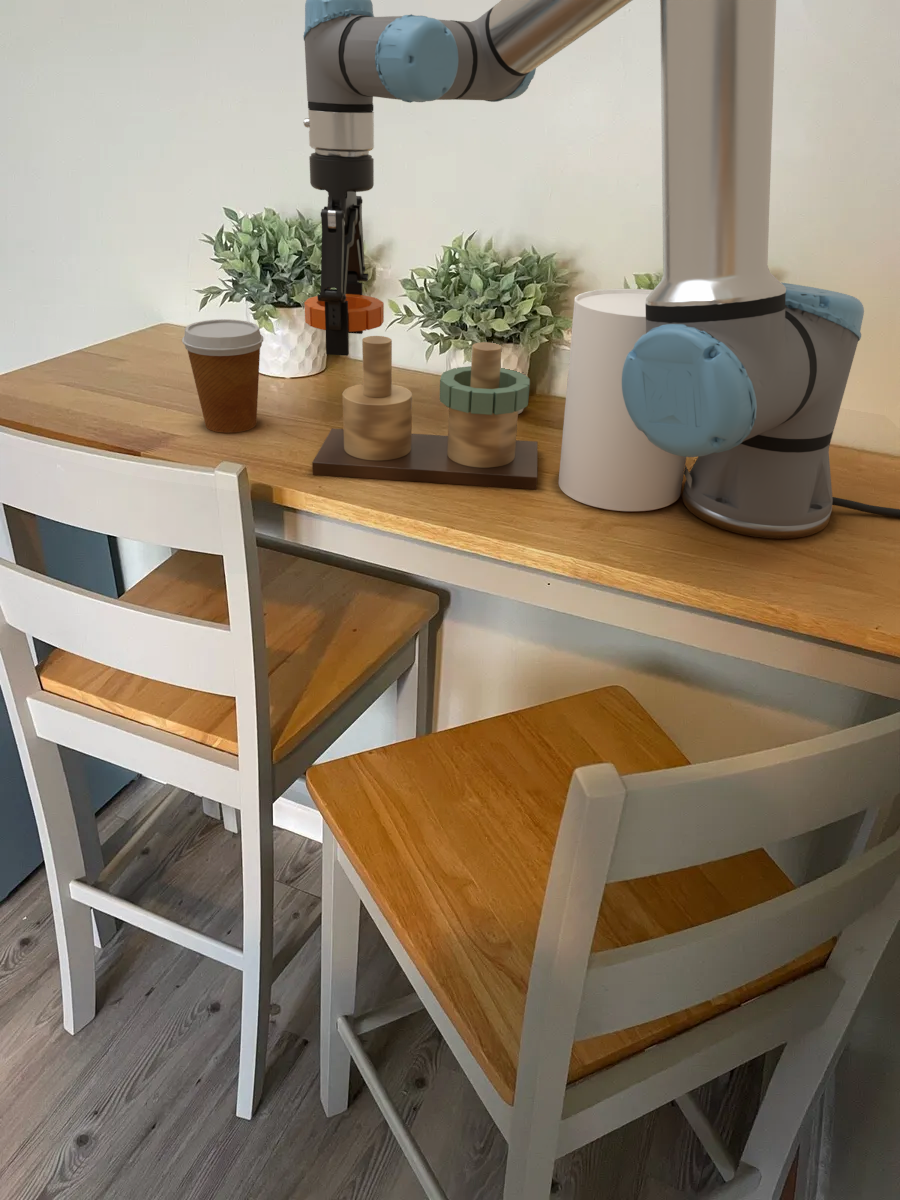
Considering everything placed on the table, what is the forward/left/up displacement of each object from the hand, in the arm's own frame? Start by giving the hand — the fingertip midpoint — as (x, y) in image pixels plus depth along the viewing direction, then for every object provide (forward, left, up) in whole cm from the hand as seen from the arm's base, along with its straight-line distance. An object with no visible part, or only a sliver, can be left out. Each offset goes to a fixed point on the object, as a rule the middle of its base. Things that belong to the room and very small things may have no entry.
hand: (345, 342), depth 117 cm
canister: (-35, +22, -8) cm, 42 cm away
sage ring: (-19, +19, 0) cm, 27 cm away
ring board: (-13, +19, -8) cm, 24 cm away
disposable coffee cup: (+13, +10, -9) cm, 18 cm away
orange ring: (0, 0, +3) cm, 3 cm away
